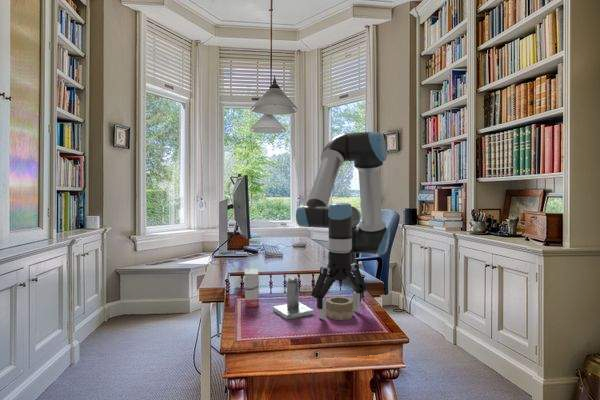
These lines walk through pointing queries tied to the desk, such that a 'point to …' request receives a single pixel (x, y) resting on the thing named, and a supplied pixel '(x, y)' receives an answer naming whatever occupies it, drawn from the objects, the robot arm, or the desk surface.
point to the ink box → (251, 288)
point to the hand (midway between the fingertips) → (339, 315)
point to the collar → (339, 308)
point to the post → (293, 303)
